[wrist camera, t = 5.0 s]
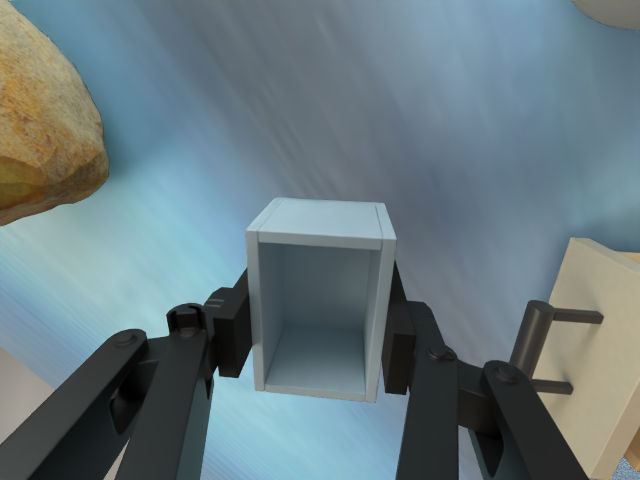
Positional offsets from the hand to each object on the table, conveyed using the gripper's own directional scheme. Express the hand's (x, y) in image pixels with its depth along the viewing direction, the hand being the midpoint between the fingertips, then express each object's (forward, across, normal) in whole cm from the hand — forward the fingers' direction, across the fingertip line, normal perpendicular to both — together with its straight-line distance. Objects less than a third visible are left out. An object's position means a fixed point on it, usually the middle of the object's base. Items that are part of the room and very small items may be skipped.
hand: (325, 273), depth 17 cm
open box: (0, 0, 0) cm, 0 cm away
